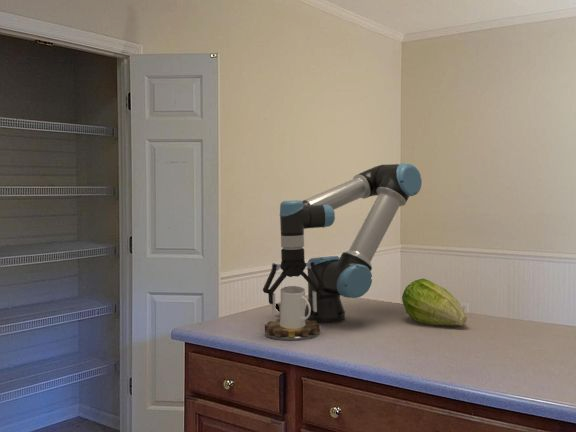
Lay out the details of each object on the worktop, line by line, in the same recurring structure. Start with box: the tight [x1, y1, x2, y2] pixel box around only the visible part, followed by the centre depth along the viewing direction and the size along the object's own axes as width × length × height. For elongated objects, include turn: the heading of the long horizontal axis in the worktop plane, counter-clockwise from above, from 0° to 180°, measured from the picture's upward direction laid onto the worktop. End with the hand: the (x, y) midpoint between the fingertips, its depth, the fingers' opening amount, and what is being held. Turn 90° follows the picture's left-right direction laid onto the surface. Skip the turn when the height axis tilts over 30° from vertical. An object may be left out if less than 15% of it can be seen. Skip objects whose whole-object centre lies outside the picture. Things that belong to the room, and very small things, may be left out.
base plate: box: [264, 329, 321, 342], centre depth 197 cm, size 19×19×1 cm
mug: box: [279, 285, 311, 329], centre depth 192 cm, size 12×8×12 cm
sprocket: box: [264, 303, 321, 337], centre depth 197 cm, size 18×18×8 cm
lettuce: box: [401, 278, 468, 326], centre depth 206 cm, size 15×25×16 cm
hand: (294, 312), depth 193 cm, fingers open, 13 cm apart
